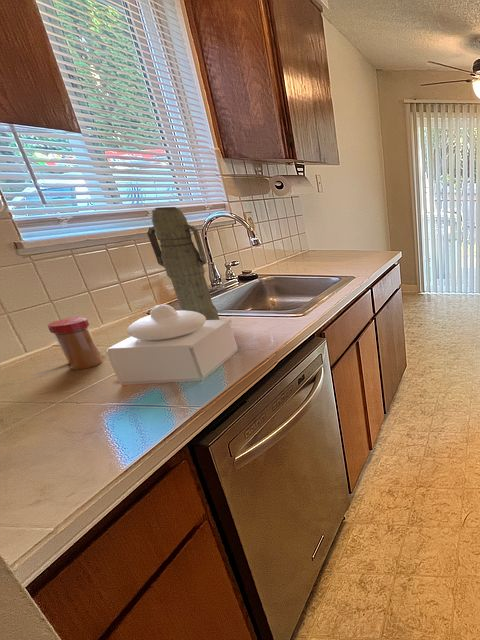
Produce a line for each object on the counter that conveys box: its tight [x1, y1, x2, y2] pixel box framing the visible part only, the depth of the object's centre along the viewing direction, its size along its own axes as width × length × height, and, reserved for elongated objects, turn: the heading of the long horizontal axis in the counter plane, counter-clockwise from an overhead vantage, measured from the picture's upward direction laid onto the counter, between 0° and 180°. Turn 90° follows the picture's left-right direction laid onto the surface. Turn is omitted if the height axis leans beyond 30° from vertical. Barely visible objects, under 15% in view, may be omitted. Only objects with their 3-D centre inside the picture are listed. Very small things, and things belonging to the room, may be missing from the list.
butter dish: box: [105, 303, 239, 386], centre depth 94 cm, size 18×18×16 cm
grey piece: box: [146, 206, 221, 320], centre depth 112 cm, size 9×12×35 cm
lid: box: [47, 316, 90, 334], centre depth 95 cm, size 7×7×2 cm
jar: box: [53, 326, 104, 370], centre depth 97 cm, size 6×6×10 cm
